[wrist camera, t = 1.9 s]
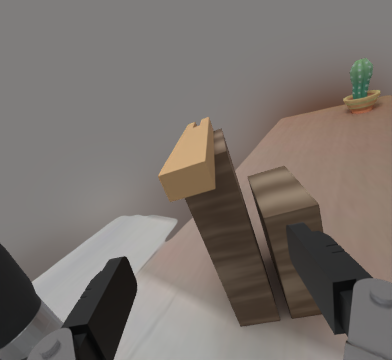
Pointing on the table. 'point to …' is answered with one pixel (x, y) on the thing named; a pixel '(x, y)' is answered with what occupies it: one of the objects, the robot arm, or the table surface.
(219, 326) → the table surface
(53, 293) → the table surface
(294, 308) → the step stand
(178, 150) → the slotted slat
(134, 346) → the table surface
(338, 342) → the table surface
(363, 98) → the potted cactus
